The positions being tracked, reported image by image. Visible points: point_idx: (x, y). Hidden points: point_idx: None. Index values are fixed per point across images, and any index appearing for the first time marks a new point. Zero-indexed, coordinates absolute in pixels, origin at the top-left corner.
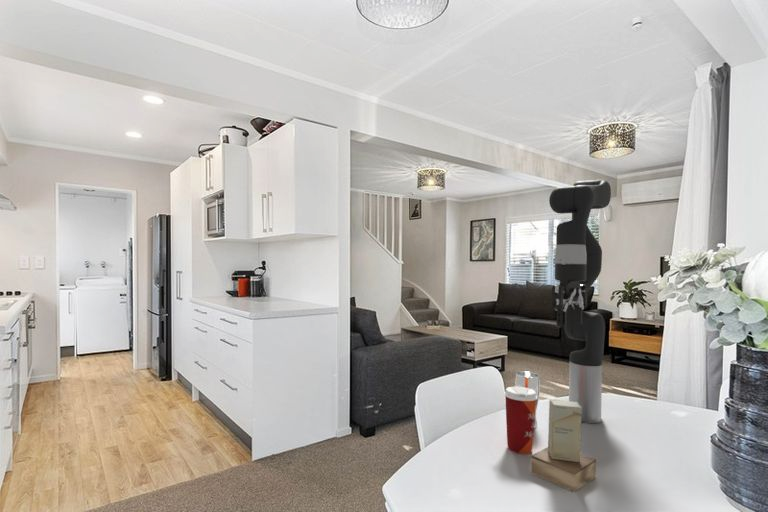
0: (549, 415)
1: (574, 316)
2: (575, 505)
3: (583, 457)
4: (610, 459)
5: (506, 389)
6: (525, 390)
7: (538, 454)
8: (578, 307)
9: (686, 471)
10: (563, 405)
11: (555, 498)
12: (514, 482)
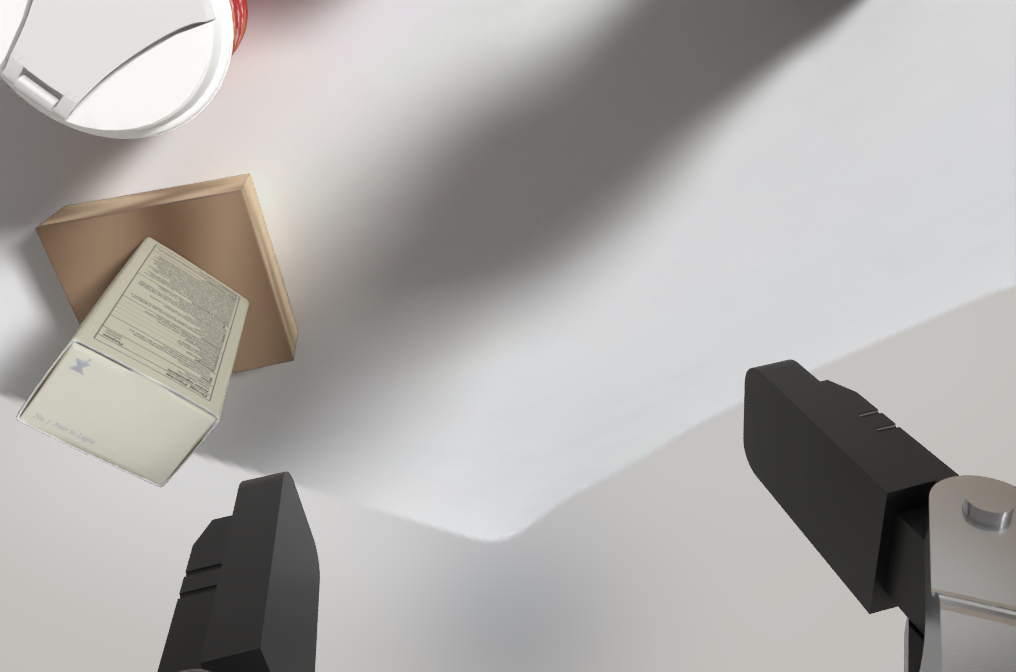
0: (91, 311)
1: (805, 440)
2: None
3: (260, 332)
4: (487, 265)
5: None
6: (132, 35)
7: (78, 237)
8: (919, 608)
9: (621, 416)
10: (74, 441)
11: (29, 366)
12: None
